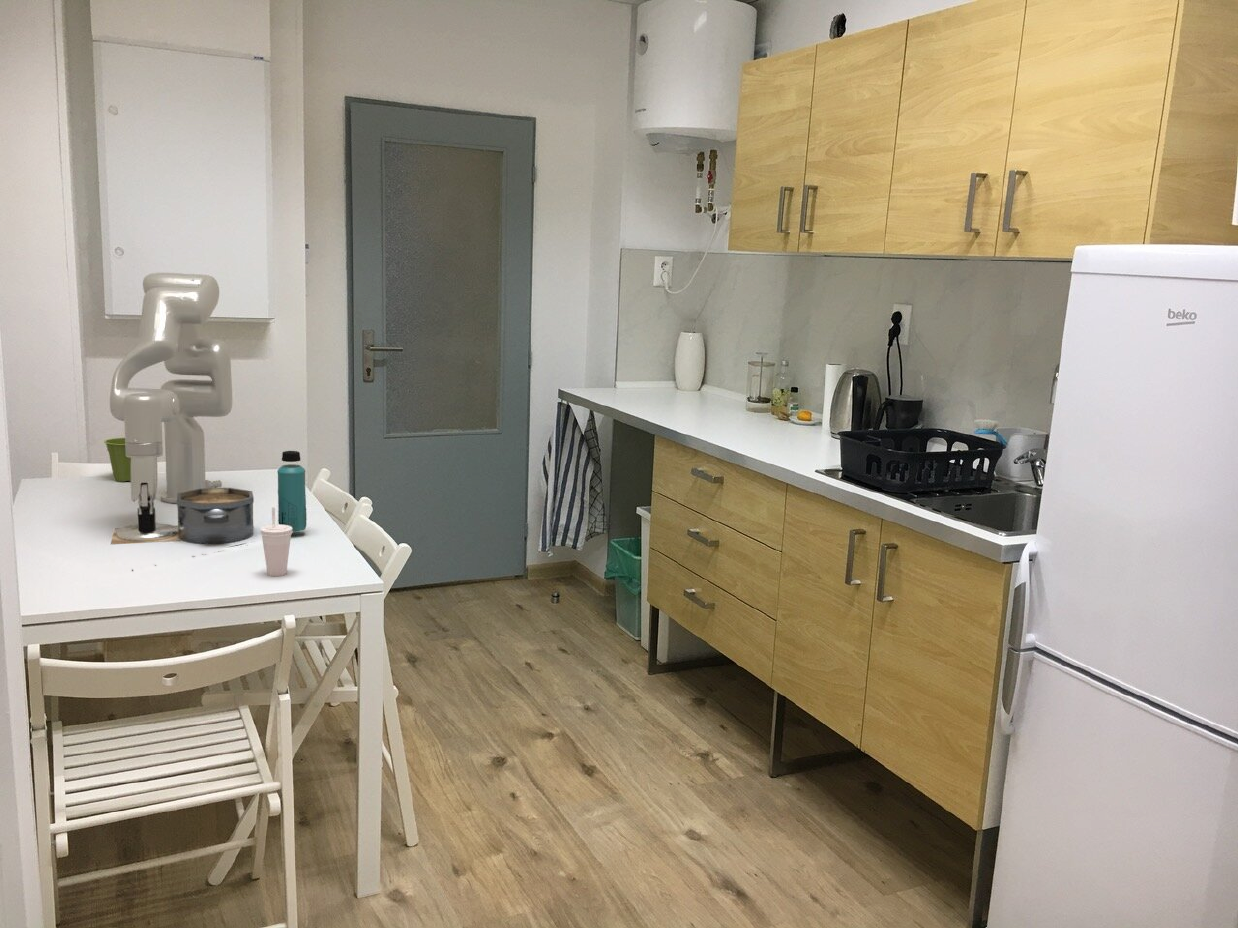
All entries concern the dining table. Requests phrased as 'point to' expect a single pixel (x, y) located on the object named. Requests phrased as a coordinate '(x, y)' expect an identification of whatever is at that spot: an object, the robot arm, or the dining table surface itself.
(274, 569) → the smoothie
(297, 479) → the beverage bottle
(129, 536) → the lid
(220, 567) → the dining table surface
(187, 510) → the stockpot
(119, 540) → the plate
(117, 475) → the plant pot
